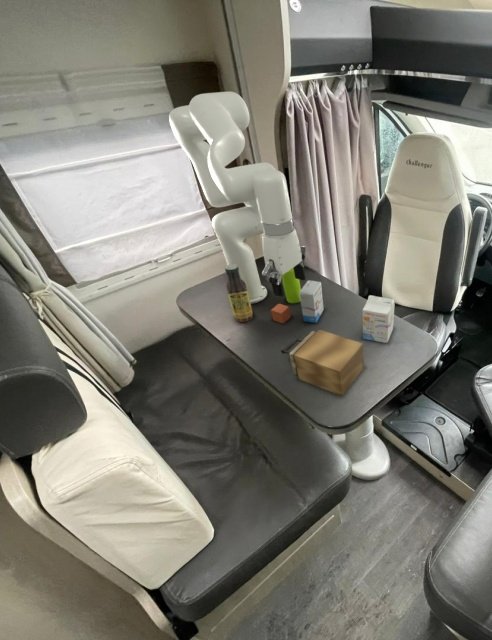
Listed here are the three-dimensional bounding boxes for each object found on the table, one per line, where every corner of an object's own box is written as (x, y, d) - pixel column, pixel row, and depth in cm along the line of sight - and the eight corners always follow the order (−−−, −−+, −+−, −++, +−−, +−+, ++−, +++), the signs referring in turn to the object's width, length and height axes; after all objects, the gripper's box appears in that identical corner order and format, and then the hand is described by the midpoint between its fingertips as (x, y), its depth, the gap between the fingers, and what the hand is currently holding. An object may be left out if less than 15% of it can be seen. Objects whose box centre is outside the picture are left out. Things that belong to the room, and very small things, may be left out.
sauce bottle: (236, 324, 125) (219, 273, 111) (234, 315, 129) (218, 264, 115) (255, 320, 126) (241, 269, 113) (253, 311, 131) (239, 260, 117)
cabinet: (298, 379, 105) (293, 354, 99) (322, 353, 114) (319, 329, 107) (342, 396, 101) (339, 371, 94) (363, 367, 109) (362, 343, 103)
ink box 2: (362, 339, 119) (361, 305, 110) (369, 324, 125) (369, 290, 116) (387, 343, 117) (388, 309, 108) (393, 328, 123) (395, 294, 114)
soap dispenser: (300, 292, 140) (292, 242, 126) (303, 301, 135) (295, 251, 122) (285, 294, 139) (275, 245, 125) (287, 304, 134) (277, 254, 120)
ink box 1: (317, 323, 125) (312, 294, 117) (303, 321, 126) (298, 292, 118) (324, 309, 131) (321, 280, 123) (311, 307, 132) (307, 279, 124)
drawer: (279, 367, 108) (274, 348, 102) (301, 345, 115) (297, 326, 110) (332, 388, 102) (330, 368, 96) (352, 363, 109) (351, 343, 104)
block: (273, 320, 127) (270, 309, 124) (281, 313, 129) (278, 303, 127) (283, 323, 125) (281, 313, 122) (291, 316, 128) (289, 306, 125)
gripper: (287, 212, 97) (297, 270, 108) (242, 237, 85) (259, 299, 96) (310, 216, 94) (318, 275, 105) (267, 242, 83) (282, 305, 94)
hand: (290, 287), depth 101 cm, fingers open, 9 cm apart
